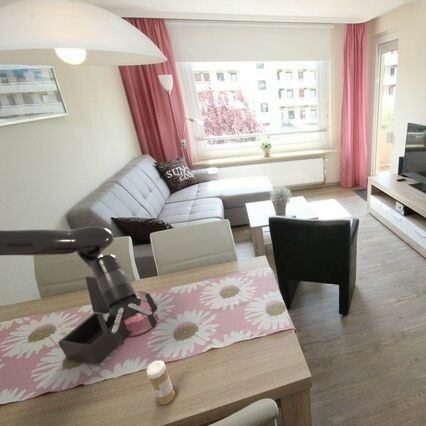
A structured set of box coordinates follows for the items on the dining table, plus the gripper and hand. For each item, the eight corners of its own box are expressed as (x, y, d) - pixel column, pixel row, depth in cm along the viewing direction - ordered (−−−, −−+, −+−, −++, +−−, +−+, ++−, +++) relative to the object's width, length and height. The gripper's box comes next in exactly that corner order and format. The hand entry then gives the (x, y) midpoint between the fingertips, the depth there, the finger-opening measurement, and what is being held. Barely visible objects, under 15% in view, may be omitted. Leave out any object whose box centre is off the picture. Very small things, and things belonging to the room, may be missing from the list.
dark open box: (98, 364, 99) (89, 347, 95) (67, 358, 101) (57, 342, 98) (130, 332, 111) (123, 316, 108) (101, 328, 114) (94, 312, 110)
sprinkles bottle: (156, 399, 87) (143, 368, 82) (170, 387, 90) (159, 357, 85) (163, 408, 85) (150, 377, 79) (178, 396, 88) (167, 365, 82)
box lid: (115, 280, 104) (117, 279, 104) (85, 277, 106) (87, 276, 107) (122, 316, 107) (124, 314, 108) (93, 312, 110) (95, 310, 111)
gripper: (86, 296, 82) (110, 349, 79) (142, 273, 91) (165, 320, 88) (89, 302, 87) (111, 352, 85) (141, 280, 96) (163, 324, 94)
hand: (139, 335), depth 86 cm, fingers open, 8 cm apart
